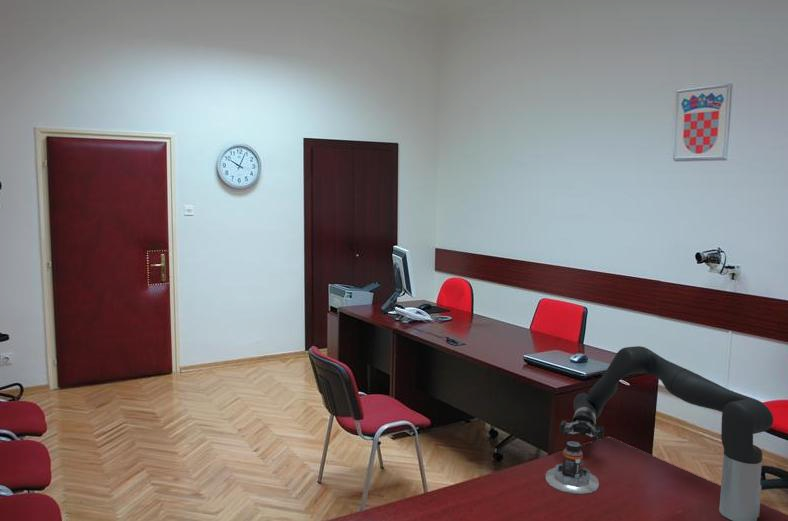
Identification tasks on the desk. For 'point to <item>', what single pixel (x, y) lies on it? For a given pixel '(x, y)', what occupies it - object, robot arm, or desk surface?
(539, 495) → the desk surface
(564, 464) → the supplement bottle
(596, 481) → the steel collar
